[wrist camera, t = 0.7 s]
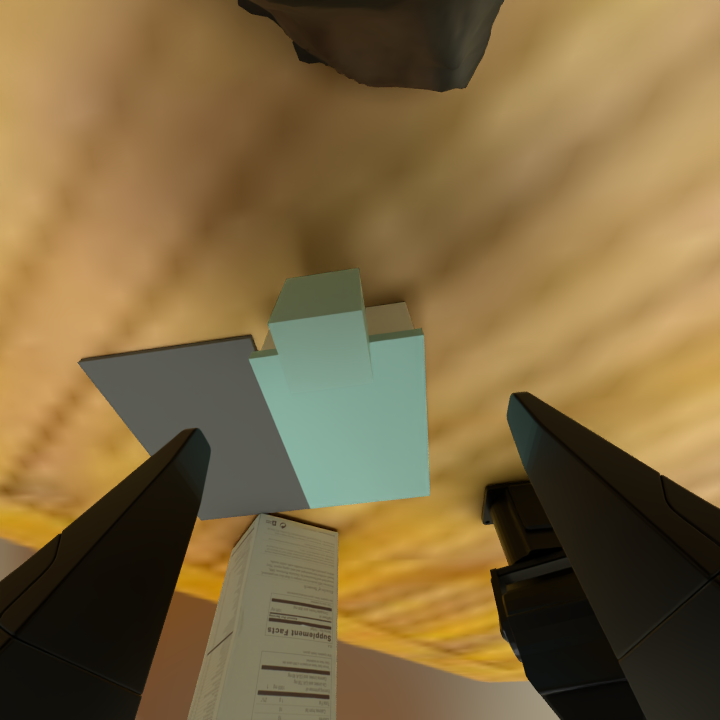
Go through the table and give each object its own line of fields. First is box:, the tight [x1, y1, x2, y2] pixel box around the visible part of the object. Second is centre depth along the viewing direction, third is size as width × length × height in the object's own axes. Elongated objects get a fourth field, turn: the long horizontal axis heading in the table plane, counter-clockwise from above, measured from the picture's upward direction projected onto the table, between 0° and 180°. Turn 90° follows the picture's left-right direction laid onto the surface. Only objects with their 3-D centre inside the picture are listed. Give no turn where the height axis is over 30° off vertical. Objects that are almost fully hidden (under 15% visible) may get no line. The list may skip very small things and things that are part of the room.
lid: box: [249, 268, 430, 509], centre depth 19 cm, size 18×9×5 cm, turn 8°
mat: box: [78, 335, 310, 520], centre depth 28 cm, size 20×12×1 cm, turn 8°
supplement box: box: [187, 513, 338, 720], centre depth 30 cm, size 10×9×17 cm
